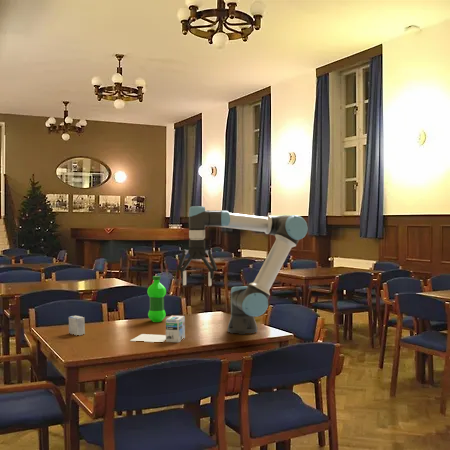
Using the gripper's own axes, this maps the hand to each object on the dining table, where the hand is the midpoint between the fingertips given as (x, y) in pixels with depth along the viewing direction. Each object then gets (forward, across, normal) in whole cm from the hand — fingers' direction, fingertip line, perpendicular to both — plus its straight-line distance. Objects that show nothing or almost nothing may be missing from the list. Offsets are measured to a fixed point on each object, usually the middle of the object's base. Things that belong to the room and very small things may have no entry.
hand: (197, 285), depth 270 cm
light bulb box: (+26, +11, 0) cm, 29 cm away
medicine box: (+26, +63, 0) cm, 68 cm away
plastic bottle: (+26, +36, -42) cm, 61 cm away
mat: (+26, +23, 0) cm, 35 cm away
